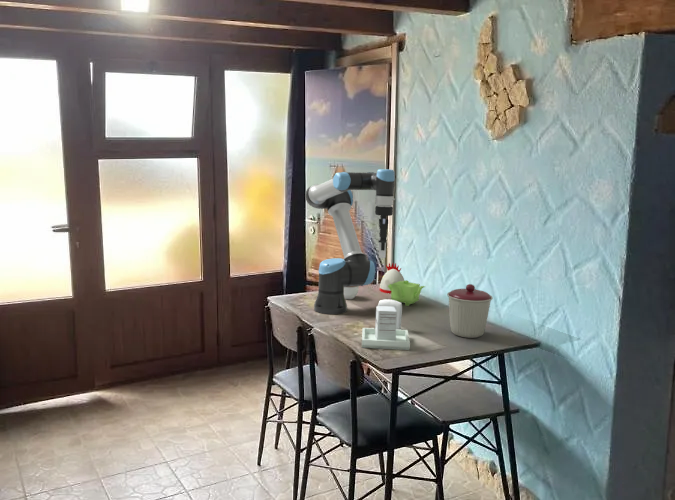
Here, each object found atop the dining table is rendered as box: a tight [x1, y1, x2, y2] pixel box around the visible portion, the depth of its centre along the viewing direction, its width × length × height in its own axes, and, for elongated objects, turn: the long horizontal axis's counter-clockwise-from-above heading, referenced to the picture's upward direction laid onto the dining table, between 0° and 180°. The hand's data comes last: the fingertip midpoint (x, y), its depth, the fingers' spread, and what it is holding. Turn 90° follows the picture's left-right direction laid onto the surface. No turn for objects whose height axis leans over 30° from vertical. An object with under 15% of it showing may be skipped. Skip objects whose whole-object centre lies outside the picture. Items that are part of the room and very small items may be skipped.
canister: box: [447, 283, 493, 339], centre depth 257 cm, size 18×18×21 cm
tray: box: [361, 327, 411, 351], centre depth 244 cm, size 18×16×3 cm
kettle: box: [388, 279, 426, 307], centre depth 306 cm, size 15×14×11 cm
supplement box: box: [375, 305, 397, 341], centre depth 243 cm, size 7×7×13 cm
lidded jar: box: [344, 286, 360, 300], centre depth 313 cm, size 11×11×9 cm
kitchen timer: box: [379, 262, 405, 295], centre depth 331 cm, size 14×14×15 cm
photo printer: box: [377, 298, 403, 330], centre depth 262 cm, size 10×4×12 cm, turn 72°
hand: (381, 255), depth 271 cm, fingers open, 13 cm apart
